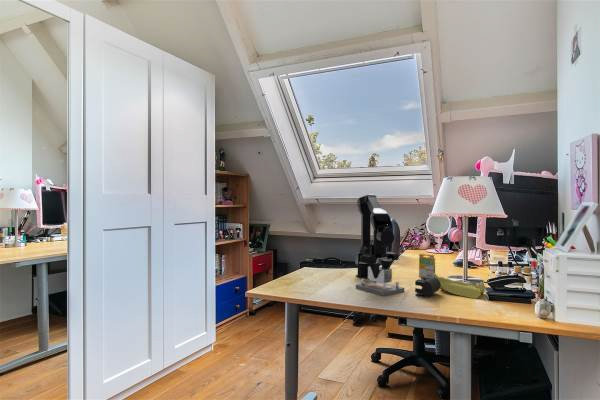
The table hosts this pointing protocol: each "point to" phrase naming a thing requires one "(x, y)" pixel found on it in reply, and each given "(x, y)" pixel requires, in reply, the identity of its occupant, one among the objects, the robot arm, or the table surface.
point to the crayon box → (426, 266)
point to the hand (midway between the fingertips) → (379, 277)
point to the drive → (381, 275)
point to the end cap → (427, 286)
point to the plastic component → (461, 288)
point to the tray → (380, 288)
